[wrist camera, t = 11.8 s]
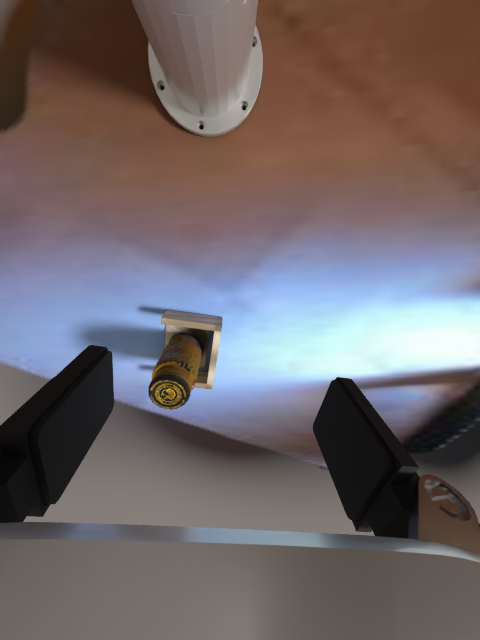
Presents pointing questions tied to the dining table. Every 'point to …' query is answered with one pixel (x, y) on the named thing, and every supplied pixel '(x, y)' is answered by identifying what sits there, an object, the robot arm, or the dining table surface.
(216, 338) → the u rest
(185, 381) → the condiment
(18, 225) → the dining table surface
